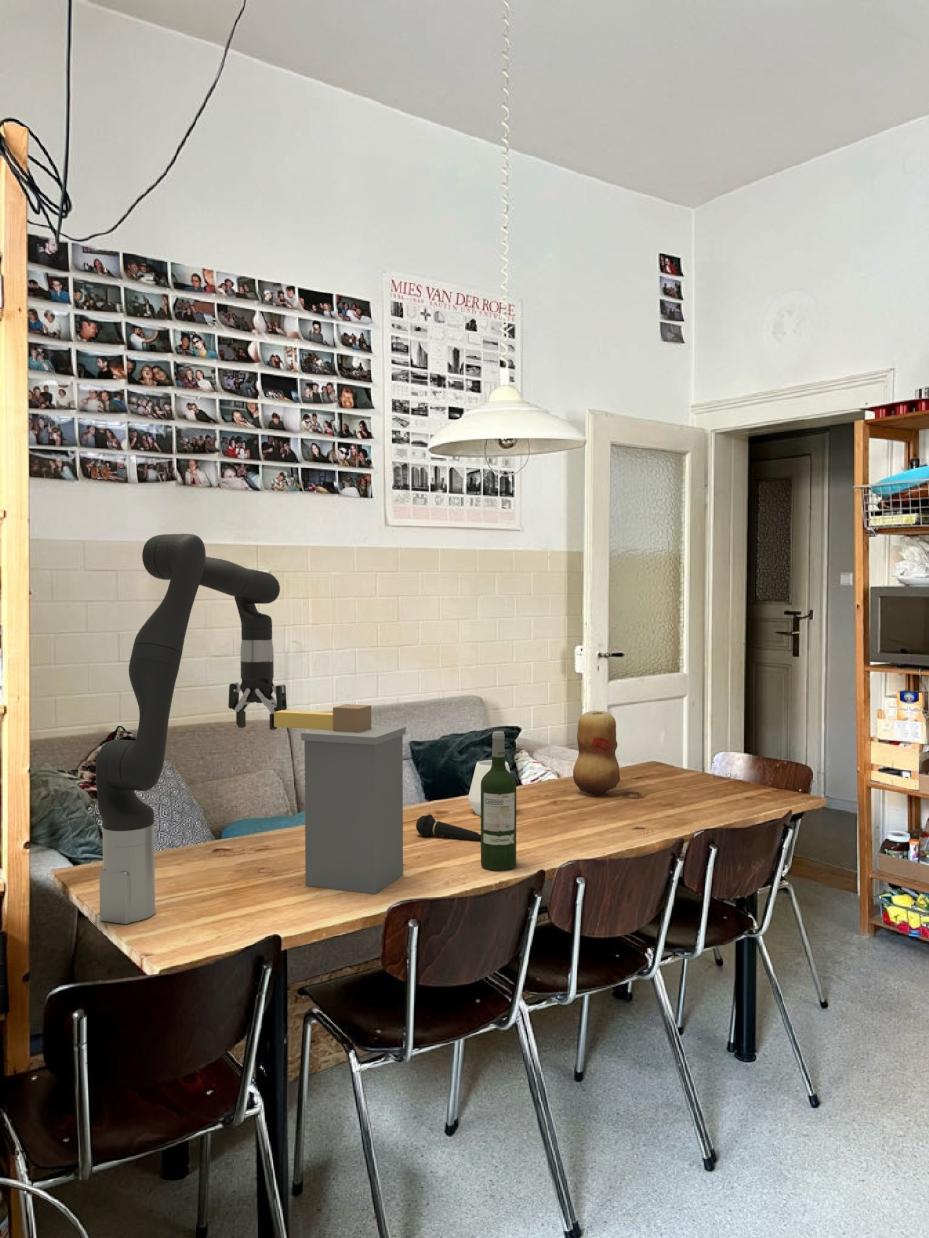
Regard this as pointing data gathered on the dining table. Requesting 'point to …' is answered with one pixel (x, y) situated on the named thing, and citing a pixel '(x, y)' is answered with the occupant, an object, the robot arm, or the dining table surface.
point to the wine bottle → (498, 812)
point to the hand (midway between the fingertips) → (257, 728)
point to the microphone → (444, 829)
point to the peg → (328, 719)
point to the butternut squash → (596, 753)
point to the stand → (354, 808)
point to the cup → (479, 784)
